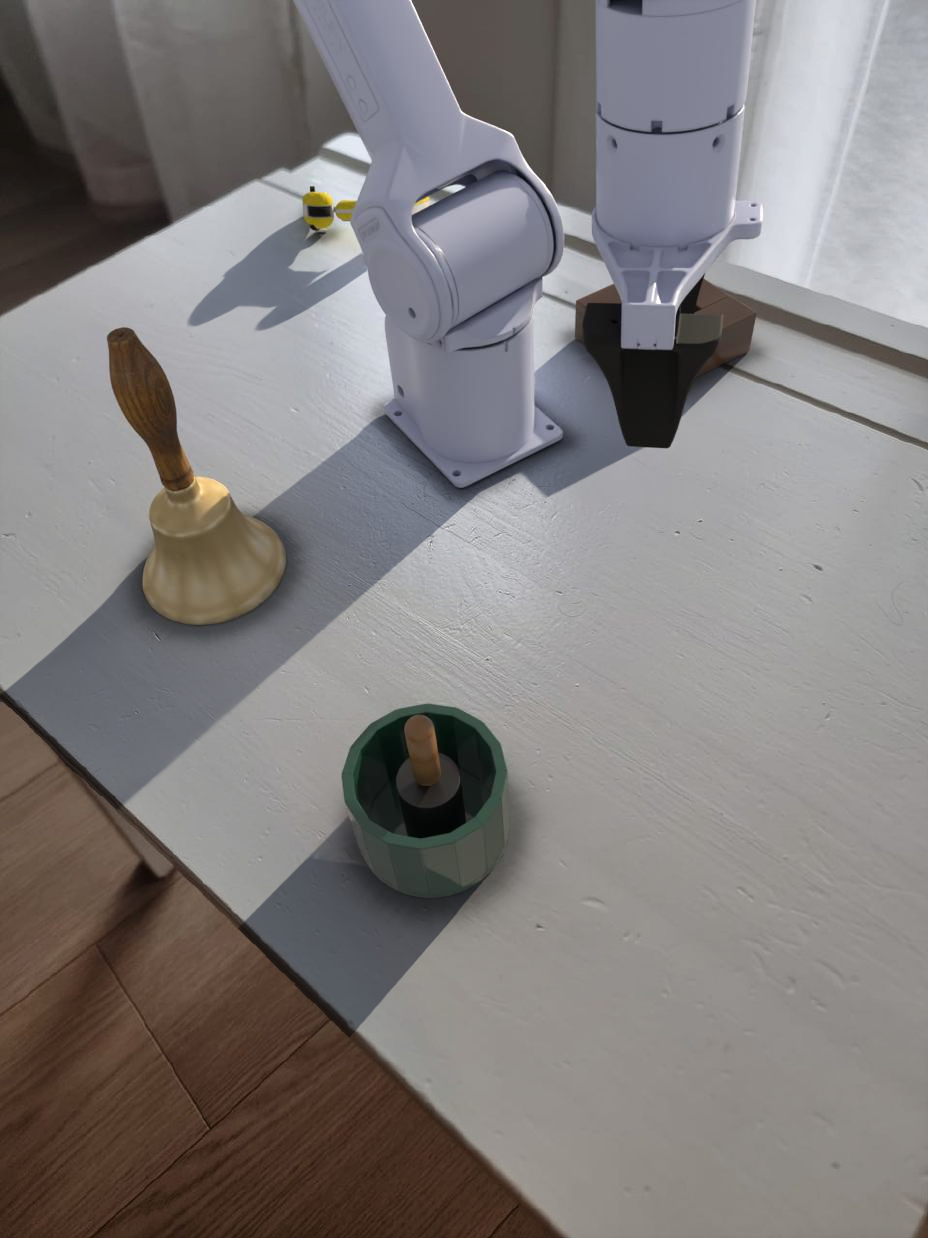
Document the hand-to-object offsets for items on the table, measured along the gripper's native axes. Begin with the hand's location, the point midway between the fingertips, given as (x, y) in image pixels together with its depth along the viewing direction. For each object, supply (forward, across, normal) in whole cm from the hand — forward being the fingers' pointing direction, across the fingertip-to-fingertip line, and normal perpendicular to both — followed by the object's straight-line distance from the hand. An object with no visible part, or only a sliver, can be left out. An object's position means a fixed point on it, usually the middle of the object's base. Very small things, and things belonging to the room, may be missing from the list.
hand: (655, 393), depth 49 cm
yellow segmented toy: (+8, +31, +26) cm, 41 cm away
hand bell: (+10, -6, +24) cm, 27 cm away
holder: (+10, +19, +1) cm, 21 cm away
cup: (+11, -19, +8) cm, 24 cm away
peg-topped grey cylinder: (+10, -19, +8) cm, 23 cm away
